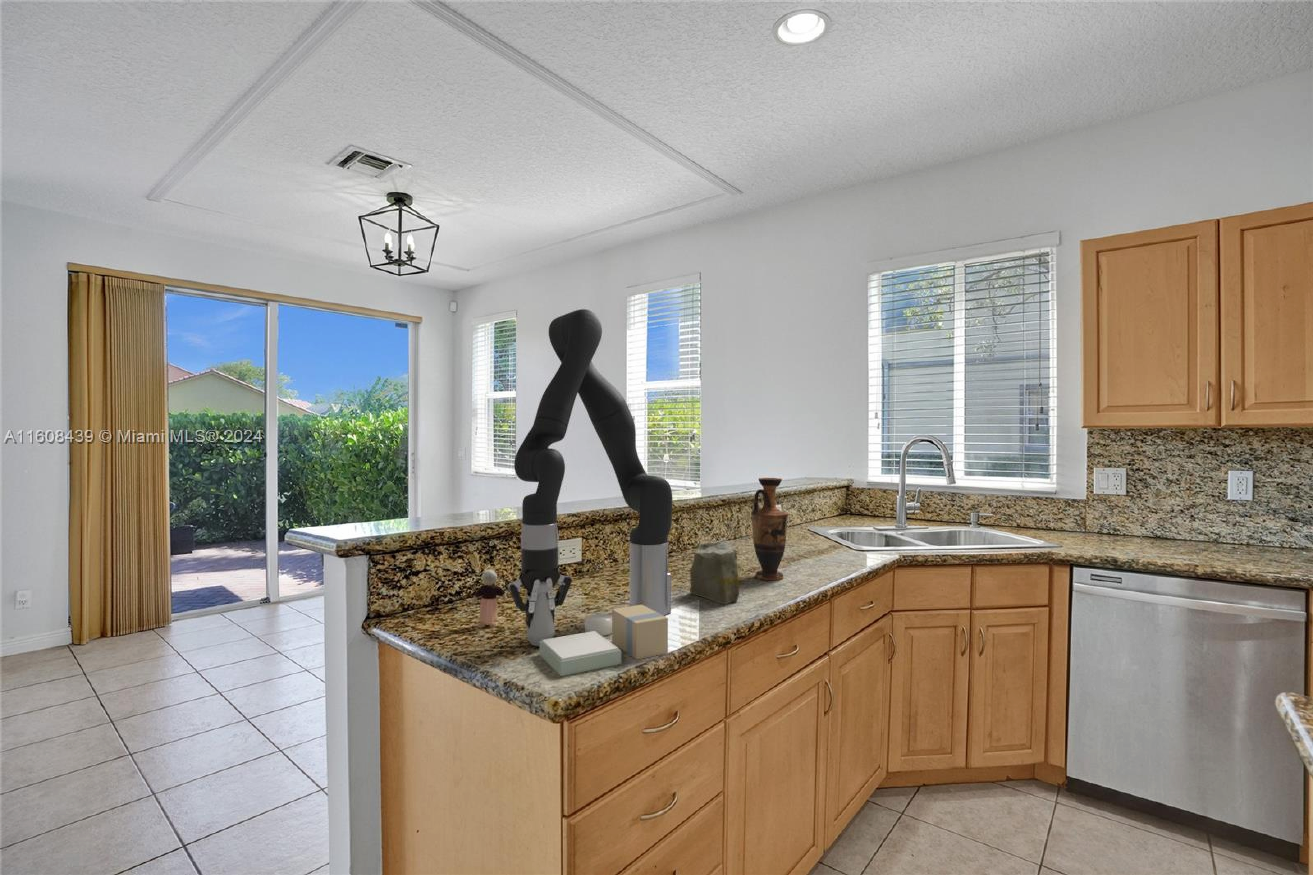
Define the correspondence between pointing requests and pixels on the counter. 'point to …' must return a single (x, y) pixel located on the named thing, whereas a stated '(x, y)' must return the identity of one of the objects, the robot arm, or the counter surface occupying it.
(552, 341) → the robot arm
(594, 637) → the podium
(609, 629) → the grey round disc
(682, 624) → the counter surface
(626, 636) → the kraft carton
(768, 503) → the vase
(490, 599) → the grandmother figurine
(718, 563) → the stone block
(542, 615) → the salt shaker
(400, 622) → the counter surface
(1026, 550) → the counter surface
